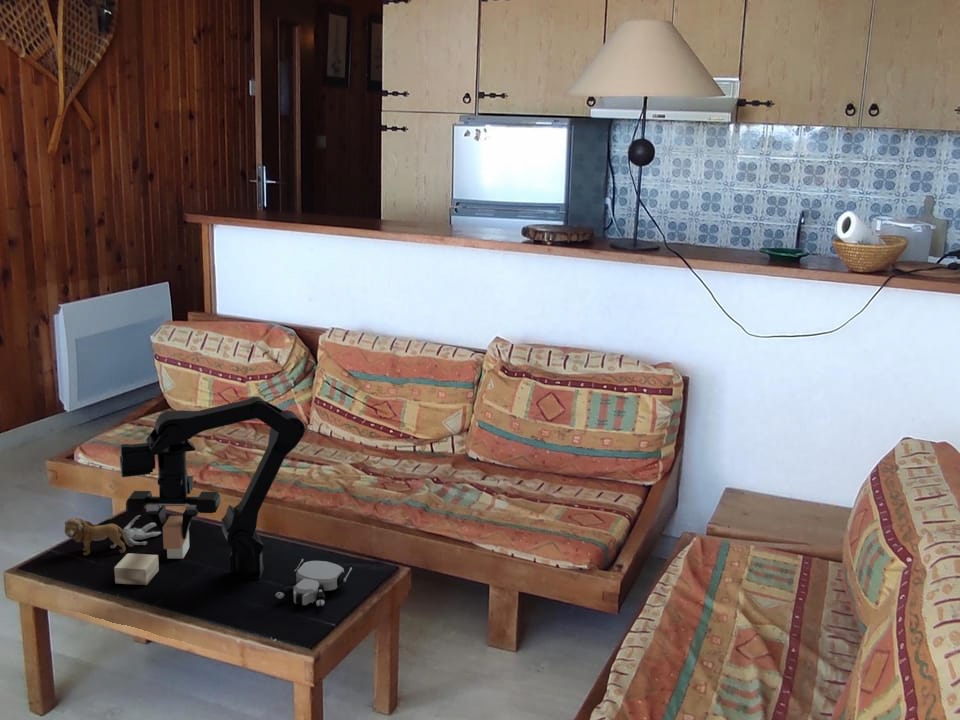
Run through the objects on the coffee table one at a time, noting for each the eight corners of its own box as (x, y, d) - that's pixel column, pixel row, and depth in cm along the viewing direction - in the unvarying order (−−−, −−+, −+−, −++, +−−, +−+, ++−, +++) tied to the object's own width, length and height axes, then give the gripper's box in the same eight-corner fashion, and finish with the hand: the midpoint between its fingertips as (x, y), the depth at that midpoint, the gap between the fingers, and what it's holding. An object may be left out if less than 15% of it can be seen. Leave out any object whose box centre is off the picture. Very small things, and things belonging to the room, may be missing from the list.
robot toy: (324, 618, 195) (353, 581, 208) (323, 599, 193) (353, 563, 207) (272, 608, 198) (304, 572, 212) (271, 589, 197) (303, 554, 210)
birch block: (158, 571, 211) (158, 555, 210) (146, 586, 204) (145, 569, 203) (128, 569, 211) (127, 553, 210) (115, 584, 204) (114, 567, 203)
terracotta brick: (187, 536, 205) (186, 515, 204) (180, 548, 199) (179, 527, 198) (170, 536, 205) (169, 515, 203) (163, 548, 199) (162, 527, 197)
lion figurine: (65, 560, 213) (62, 524, 211) (67, 550, 218) (64, 514, 216) (133, 552, 219) (131, 517, 216) (133, 542, 223) (131, 508, 221)
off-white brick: (189, 547, 222) (188, 528, 221) (183, 558, 216) (182, 539, 215) (174, 547, 222) (173, 528, 221) (167, 558, 216) (166, 538, 215)
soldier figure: (171, 542, 227) (127, 543, 217) (159, 551, 229) (116, 552, 219) (163, 513, 230) (120, 513, 220) (152, 522, 232) (109, 522, 222)
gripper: (224, 458, 206) (226, 523, 210) (138, 457, 205) (142, 522, 209) (213, 476, 195) (216, 544, 199) (123, 475, 194) (127, 544, 198)
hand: (175, 538), depth 202 cm, fingers closed on terracotta brick, 4 cm apart
